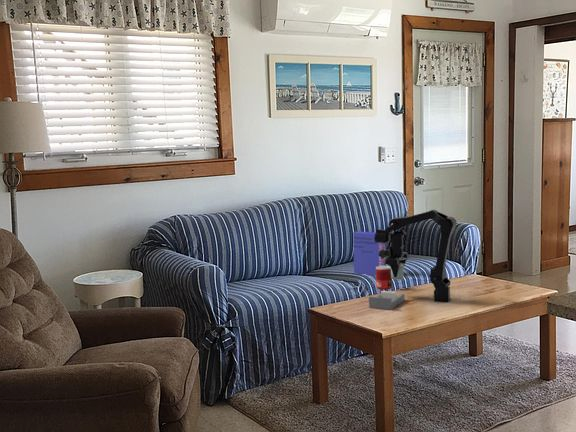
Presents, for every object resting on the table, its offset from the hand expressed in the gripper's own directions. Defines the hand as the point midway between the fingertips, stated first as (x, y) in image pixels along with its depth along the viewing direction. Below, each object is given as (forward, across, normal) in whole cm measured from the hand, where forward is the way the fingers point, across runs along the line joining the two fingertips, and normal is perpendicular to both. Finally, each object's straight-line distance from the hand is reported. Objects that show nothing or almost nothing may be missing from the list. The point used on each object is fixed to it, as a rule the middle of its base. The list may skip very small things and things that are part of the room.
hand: (397, 275), depth 314 cm
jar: (+1, 0, 0) cm, 1 cm away
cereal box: (+10, -43, -31) cm, 54 cm away
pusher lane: (+10, +14, 0) cm, 17 cm away
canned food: (+10, -14, -12) cm, 21 cm away
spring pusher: (+10, +12, 0) cm, 15 cm away
